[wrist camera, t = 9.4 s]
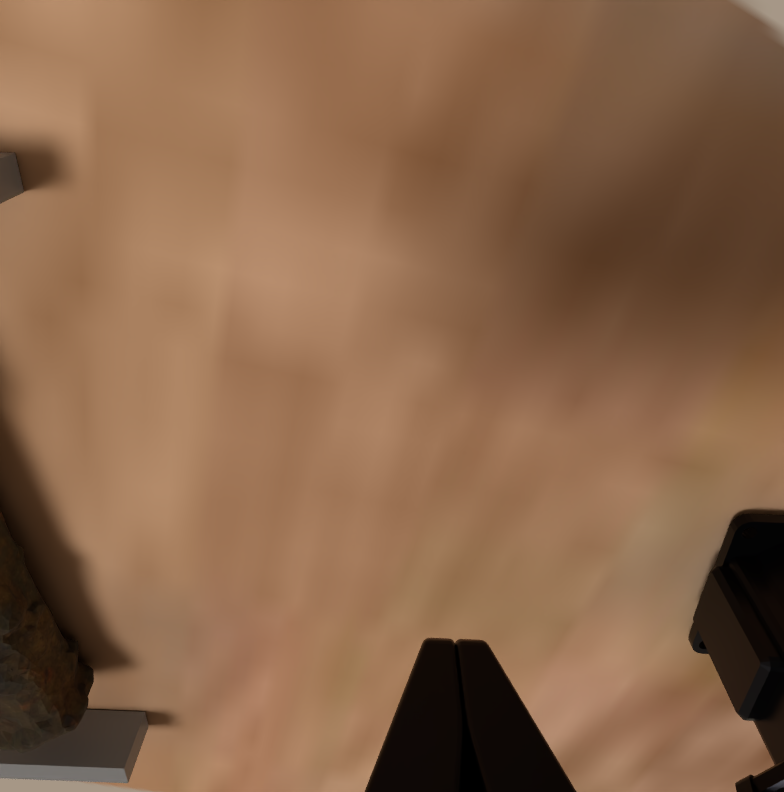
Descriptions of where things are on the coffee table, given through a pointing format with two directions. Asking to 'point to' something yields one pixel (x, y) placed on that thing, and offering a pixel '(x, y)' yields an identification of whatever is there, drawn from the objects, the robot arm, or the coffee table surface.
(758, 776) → the robot arm
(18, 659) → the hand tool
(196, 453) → the coffee table surface
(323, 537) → the coffee table surface
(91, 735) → the plate
